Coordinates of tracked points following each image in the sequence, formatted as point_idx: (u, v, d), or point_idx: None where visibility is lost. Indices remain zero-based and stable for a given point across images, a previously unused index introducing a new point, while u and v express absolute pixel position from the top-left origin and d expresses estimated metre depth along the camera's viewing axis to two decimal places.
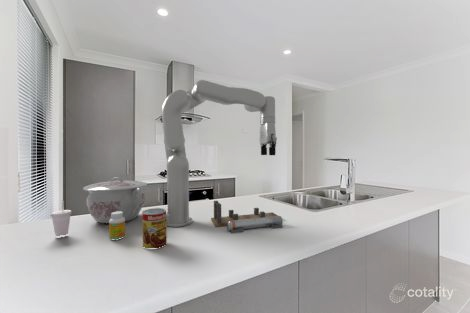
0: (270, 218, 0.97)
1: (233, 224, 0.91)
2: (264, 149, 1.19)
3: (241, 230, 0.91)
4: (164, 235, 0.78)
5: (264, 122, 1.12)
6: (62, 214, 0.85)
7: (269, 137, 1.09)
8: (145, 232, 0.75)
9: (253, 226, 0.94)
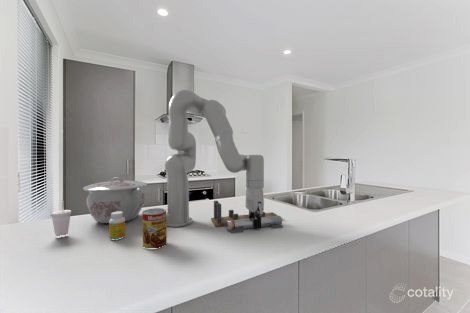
0: (269, 217, 0.98)
1: (233, 222, 0.92)
2: (253, 217, 0.98)
3: (241, 230, 0.91)
4: (164, 235, 0.78)
5: (250, 187, 0.93)
6: (62, 214, 0.85)
7: (256, 206, 0.91)
8: (145, 232, 0.75)
9: (253, 225, 0.94)
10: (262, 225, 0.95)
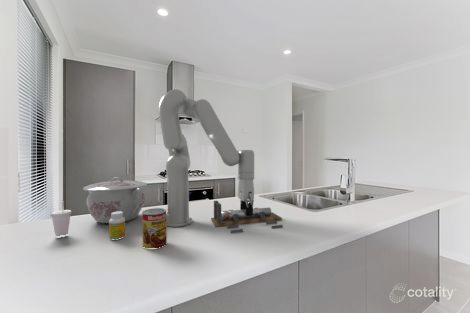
0: (260, 209, 1.08)
1: (227, 213, 1.02)
2: (244, 205, 1.10)
3: (241, 230, 0.91)
4: (164, 235, 0.78)
5: (242, 178, 1.03)
6: (62, 214, 0.85)
7: (246, 196, 1.01)
8: (145, 232, 0.75)
9: (245, 215, 1.04)
10: (253, 216, 1.06)
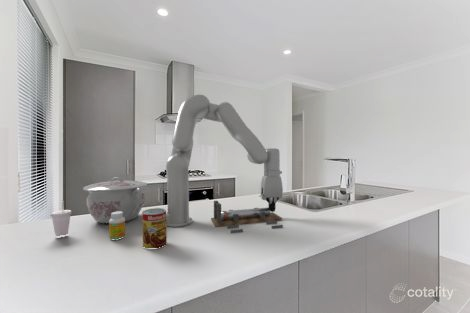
0: (259, 209, 1.07)
1: (225, 213, 1.02)
2: None
3: (241, 230, 0.91)
4: (164, 235, 0.78)
5: None
6: (62, 214, 0.85)
7: (261, 191, 1.10)
8: (145, 232, 0.75)
9: (244, 215, 1.04)
10: (252, 216, 1.05)
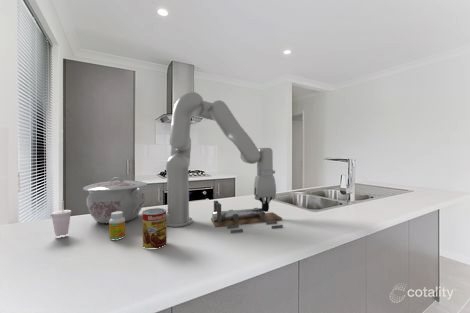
0: (252, 209, 1.06)
1: None
2: None
3: (241, 230, 0.91)
4: (164, 235, 0.78)
5: None
6: (62, 214, 0.85)
7: (254, 190, 1.09)
8: (145, 232, 0.75)
9: None
10: (245, 216, 1.04)
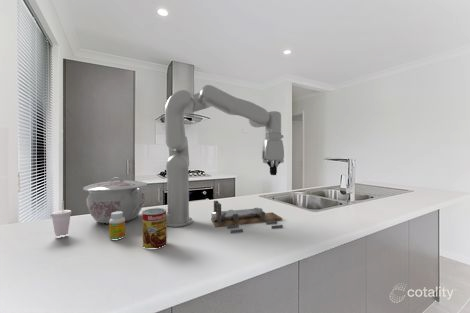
0: (251, 209, 1.06)
1: None
2: None
3: (241, 230, 0.91)
4: (164, 235, 0.78)
5: None
6: (62, 214, 0.85)
7: (262, 154, 1.10)
8: (145, 232, 0.75)
9: None
10: (244, 216, 1.04)
